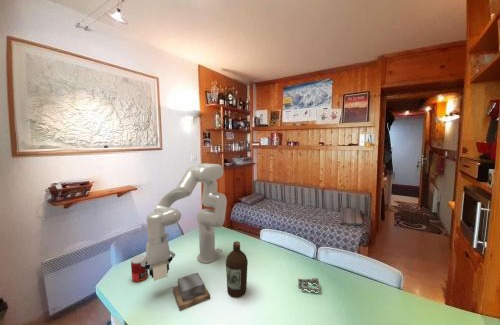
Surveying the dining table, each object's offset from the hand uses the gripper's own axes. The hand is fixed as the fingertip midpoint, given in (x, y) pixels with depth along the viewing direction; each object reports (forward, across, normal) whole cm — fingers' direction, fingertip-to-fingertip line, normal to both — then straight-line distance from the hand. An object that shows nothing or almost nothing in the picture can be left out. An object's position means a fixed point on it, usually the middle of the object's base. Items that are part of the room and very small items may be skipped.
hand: (159, 273), depth 103 cm
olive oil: (+11, -32, +18) cm, 39 cm away
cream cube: (+1, 0, 0) cm, 1 cm away
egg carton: (+12, -64, +36) cm, 74 cm away
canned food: (+10, +8, -18) cm, 22 cm away
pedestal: (+10, -12, +10) cm, 18 cm away
